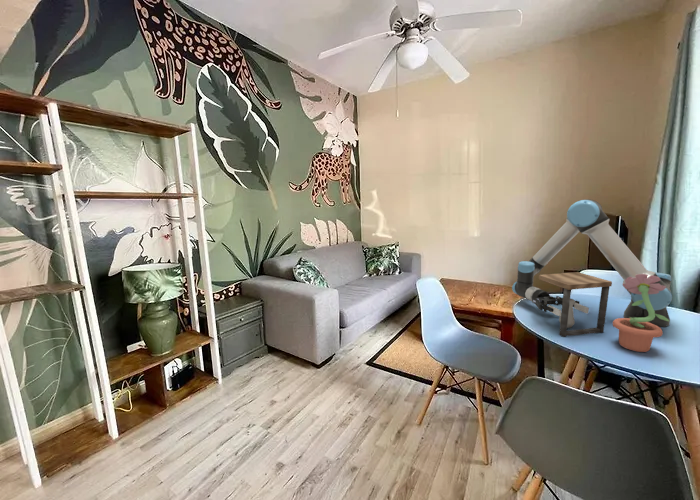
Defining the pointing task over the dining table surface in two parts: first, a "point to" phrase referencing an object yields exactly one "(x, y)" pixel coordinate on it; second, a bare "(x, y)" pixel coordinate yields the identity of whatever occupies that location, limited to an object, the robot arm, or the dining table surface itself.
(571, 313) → the salt shaker
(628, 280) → the decorative flower
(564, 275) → the wooden side table
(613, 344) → the dining table surface
